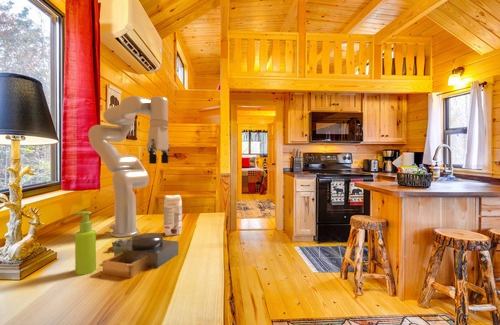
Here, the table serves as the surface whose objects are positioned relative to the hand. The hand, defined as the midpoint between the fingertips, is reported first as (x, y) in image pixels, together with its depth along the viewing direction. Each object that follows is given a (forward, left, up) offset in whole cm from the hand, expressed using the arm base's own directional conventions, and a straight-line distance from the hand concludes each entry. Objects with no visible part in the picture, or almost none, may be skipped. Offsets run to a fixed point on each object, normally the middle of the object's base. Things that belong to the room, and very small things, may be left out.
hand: (159, 163), depth 121 cm
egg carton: (-8, -11, -36) cm, 38 cm away
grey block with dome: (+7, -22, -35) cm, 42 cm away
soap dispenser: (-6, -34, -36) cm, 49 cm away
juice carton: (-1, +13, -36) cm, 38 cm away
